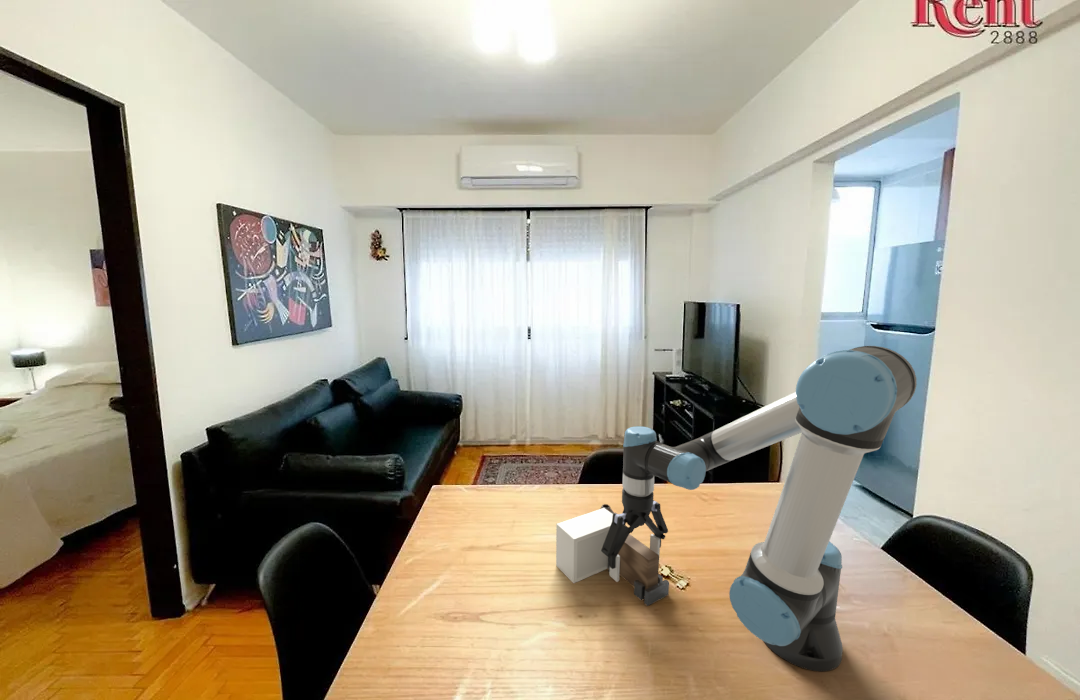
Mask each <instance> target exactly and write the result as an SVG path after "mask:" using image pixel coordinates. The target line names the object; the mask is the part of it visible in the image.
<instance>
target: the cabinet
mask: <svg viewBox="0 0 1080 700" xmlns="http://www.w3.org/2000/svg"><path fill="white" fill-rule="evenodd" d="M612 517H613V514H612V513H611V512H609V511H608V510H606V509H605V508H602V509H600V508H598V509H596V510H593V511H590V512H587V513H584V514H581V515H578V516H575V517H573V518H569V519H567V520H564V521H561V522H558V523H556V525H555V527H556V529H555V530H556V532H555V533H556V537H555V539H556V542H555V544H556V547H555V552H556V553H555V562H556V563H555V566H556V567H557V568H558V569H559V570H560V571H561V572H562V573H563V574H564V575H565V576H566V577H567V578H568V580H569V581H570V582H572V583H573V584H576V583H578V582H580V581H582V580H584V579H587V578H590V577H592V576H594V575H596V574H599V573H600V572H604V571H605V570H608V557H607V556H606V555H605V554H604V553H603V552H602V551H601V549H602V547H603V544H604V541H605V539H606V536H607V534H608V531H609V528H610V526H611V523H612Z"/></svg>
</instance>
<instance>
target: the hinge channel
mask: <svg viewBox="0 0 1080 700" xmlns="http://www.w3.org/2000/svg"><path fill="white" fill-rule="evenodd" d="M607 570H608V573H610V567H609V566H608V569H607ZM663 578H664V577H663V575H661V574H660V573H658V584H656V585H654V586H652V587H650V588H648V589H646V590H645V585H643V584H642V583H641V582H640V581H639V580H635V581H634V587H633V595H634V596H635V597H637V598H638V599H639V600H640V601H644V605H645V606H646V607H648V606H650V605H652V604H654V603H656V602H658V601H660V600H662V599H664V598H666V597H667V596H669V593H670V591H669V589H670V581H669V580H668V579H663ZM644 595H645V596H644Z"/></svg>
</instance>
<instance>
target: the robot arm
mask: <svg viewBox="0 0 1080 700" xmlns="http://www.w3.org/2000/svg"><path fill="white" fill-rule="evenodd" d="M917 385H918V384H917V376H916V372H915V369H914V368H913V365H912V364H911V363H910V361H908V359H906V358H905V357H904V355H902V354H900V353H898V352H897V351H895V350H893V349H890V348H887V347H884V346H877V345H864V346H858V347H854V348H851V349H845V350H843V349H842V350H839V351H838V350H837V351H836V350H835V351H833V352H830V353H827V354H825V355H821V357H819V358H817V359H815V361H813V362H811V363H810V364H809V365H807V366H806V368H805V369H804V370H803V371H802V372H801V374H800V375H799V376H798V380H797V383H796V387H795V391H793V392H791V393H789V394H787V395H784V396H783V397H781V398H779V399H776V400H775V401H773V402H770V403H768V404H766V405H764V406H763V407H760V408H758V409H756V410H754V411H752V412H750V413H748V414H746V415H743V416H741V417H739V418H737V419H735V420H733V421H732V422H730V423H727V424H725V425H723V426H721V427H719V428H717V429H715V430H713V431H710V432H708V433H706V434H704V435H702V436H700V437H698V438H695V439H693V440H691V441H687V442H685V443H682V444H679V445H677V446H669V445H667V444H664V443H661V442H660V441H658V440H657V433H656V431H655V430H654V429H652V428H651V427H648V426H639V425H638V426H631V427H628V428H626V430H625V431H624V436H623V437H624V439H623V445H622V447H623V450H622V451H623V458H622V459H623V460H622V461H623V463H622V464H623V465H622V467H623V468H622V491H621V503H622V506H623V511H622V513H617V512H614V514H613V517H612V523H611V526H610V528H609V531H608V534H607V536H606V539H605V541H604V544H603V547H602V549H601V551H602V552H603V553H604V554H605V555H606V556H607V557H608V566H609V567H610V572H609V577H611V579H613V580H614V581H615V582H616V583H618V582H619V581H620V574H619V569H620V556H619V555H618V553H619V551H620V549H621V548H622V546H623V544H624V542H625V541H626V539H627V537H628V535H629V534H630V535H631V534H632V533H633V532H634V530H635V529H637V528H639V527H642V526H643V527H644V526H645V525H646V526H647V528H648V529H649V530H650V531H651V532H652V533H651V534H650V535H649V537H650V538H649V548H650V549H651V550H652V551H654V552H655V553H657V554H658V555H659V556H660V553H661V552H660V550H661V549H660V548H661V546H662V540H665V539H666V534H668V532H669V530H668V527H667V524H666V522H665V517H664V516H663V514H662V511H661V503H659V502H658V501H655V500H654V496H655V495H654V491H655V477H656V478H657V477H658V478H659V479H661V480H664V481H666V482H668V483H670V484H672V485H674V486H676V487H679V488H683V489H686V490H688V491H692V490H696V489H698V488H699V487H700V486H701V484H702V483H703V482H704V480H705V477H706V472H708V471H709V470H713V469H714V468H717V467H719V466H722V465H724V464H727V463H729V462H731V461H734V460H735V459H739V458H741V457H744V456H746V455H749V454H751V453H755V452H756V451H759V450H761V449H764V448H766V447H769V446H771V445H773V444H776V443H779V442H782V441H784V440H786V439H789V438H792V437H794V436H797V435H800V434H801V435H800V437H799V441H798V444H797V446H796V449H795V452H794V455H793V457H792V460H791V464H790V467H789V470H788V472H787V475H786V478H785V482H784V485H783V488H782V490H781V493H780V495H779V499H778V502H777V505H776V507H775V509H774V513H773V516H772V519H771V522H770V524H769V528H768V530H767V533H766V536H765V540H764V541H761V542H757V543H756V544H755V545H753V546H752V548H751V550H750V554H749V557H748V560H747V562H746V565H745V568H744V570H743V572H742V574H741V575H740V576H737V577H736V578H735V579H734V580H733V582H732V583H731V585H730V588H729V593H728V594H729V601H730V604H731V607H732V609H733V610H734V612H735V613H736V617H737V618H738V619H739V621H740V623H742V625H743V626H744V627H745V628H746V629H747V630H748V631H749V632H750V633H751V634H752V635H754V636H755V637H756V638H757V639H759V640H760V641H763V642H764V643H765V645H766V646H767V647H768V648H769V649H770V650H771V651H772V652H774V654H776V655H777V656H779V657H780V658H782V659H783V660H785V661H787V662H788V663H790V664H792V665H794V666H796V667H798V668H801V669H806V670H809V671H813V672H828V671H832V670H835V669H836V668H838V667H839V666H840V664H841V663H842V658H843V648H844V647H843V643H842V639H841V636H840V631H839V628H838V624H837V620H836V613H837V605H838V597H839V590H840V589H839V588H840V581H841V575H842V574H841V571H842V569H843V564H842V563H843V562H842V561H843V560H842V559H843V558H842V553H841V550H840V549H839V548H838V547H837V546H836V545H835V544H834V543H833V542H831V541H830V540H831V537H832V535H833V532H834V531H835V527H836V525H837V522H838V520H839V518H840V515H841V512H842V509H843V507H844V506H845V504H846V503H845V502H846V500H847V498H848V495H849V493H850V490H851V488H852V485H853V484H854V483H853V482H854V480H855V477H856V475H857V472H858V470H859V467H860V465H861V463H862V460H863V458H864V455H865V454H867V453H871V452H875V451H878V450H879V449H880V448H881V447H882V444H883V442H884V440H885V437H886V435H887V432H888V431H889V428H890V425H891V423H892V420H893V418H894V416H895V414H896V413H897V411H899V410H900V409H902V408H903V407H904V406H905V405H907V404H908V403H909V402H910V401H911V399H912V398H913V397H914V394H915V392H916V390H917V389H916V388H917ZM650 514H652V517H653V519H652V518H651V517H650ZM626 524H627V525H628V526H627V525H626Z"/></svg>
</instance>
